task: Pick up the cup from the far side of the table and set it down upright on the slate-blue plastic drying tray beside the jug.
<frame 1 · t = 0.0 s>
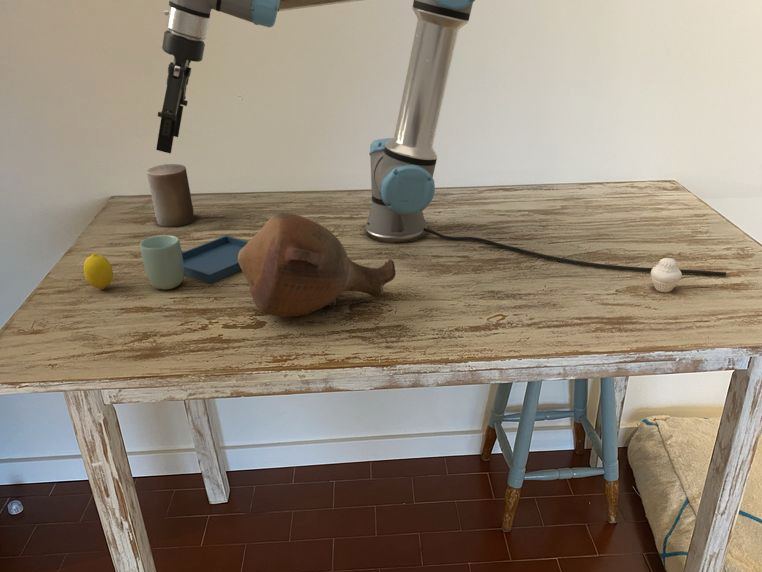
hand: (167, 143, 145), 28 cm above the table, tool tilted 20°, fingers open, 13 cm apart
pillar candle: (175, 221, 186), on the table
lemon: (103, 290, 150), on the table
drying tray: (219, 261, 162), on the table
muffin: (663, 290, 148), on the table
jug: (322, 308, 142), on the table
cup: (168, 286, 151), on the table
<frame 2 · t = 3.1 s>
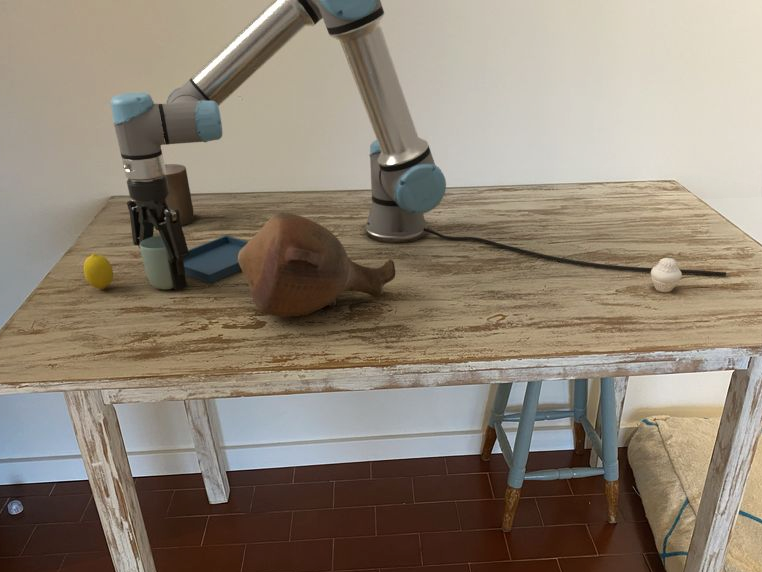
hand: (167, 282, 151), 1 cm above the table, tool pointing down, fingers closed on cup, 8 cm apart
cup: (168, 286, 151), on the table, touching gripper
everything else where it was.
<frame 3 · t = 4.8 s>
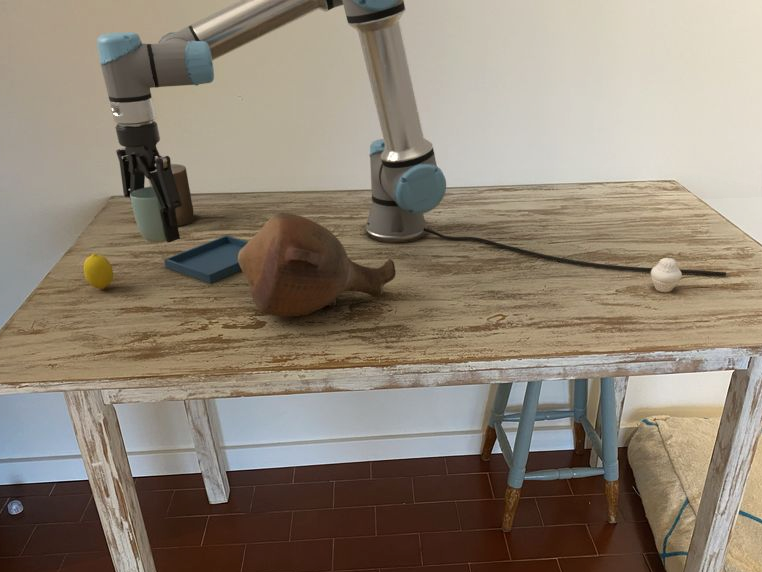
hand: (159, 235, 146), 11 cm above the table, tool pointing down, fingers closed on cup, 8 cm apart
cup: (160, 240, 146), point 10 cm above the table, touching gripper
everything else where it was.
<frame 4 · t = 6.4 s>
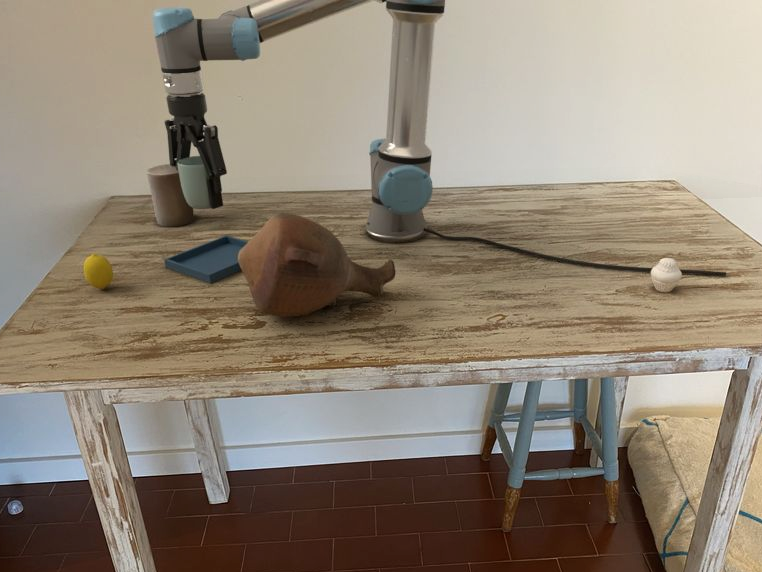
hand: (203, 203, 153), 14 cm above the table, tool pointing down, fingers closed on cup, 8 cm apart
cup: (204, 207, 154), point 14 cm above the table, touching gripper
everything else where it was.
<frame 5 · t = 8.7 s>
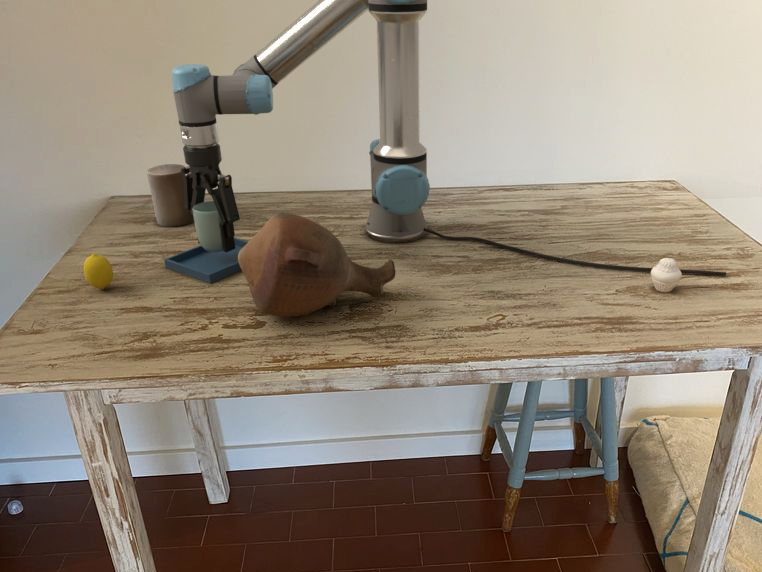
hand: (216, 245, 160), 4 cm above the table, tool pointing down, fingers closed on cup, 8 cm apart
cup: (217, 249, 161), point 3 cm above the table, touching gripper
everything else where it was.
when the fingers open (1 cm above the table, at t = 9.9 s): cup stays where it is, resting on drying tray.
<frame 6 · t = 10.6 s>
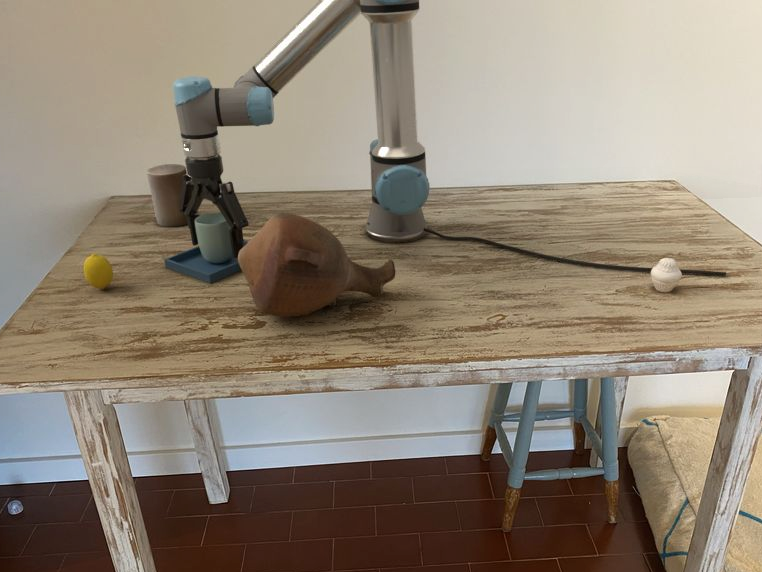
hand: (218, 249, 161), 3 cm above the table, tool pointing down, fingers open, 13 cm apart
cup: (219, 261, 162), resting on drying tray
everything else where it was.
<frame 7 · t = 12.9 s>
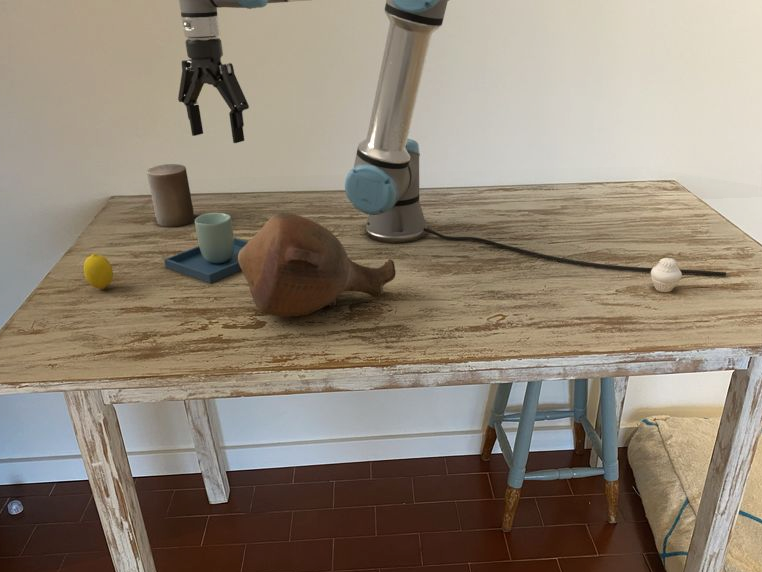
hand: (218, 138, 163), 24 cm above the table, tool pointing down, fingers open, 13 cm apart
nothing on the table moved.
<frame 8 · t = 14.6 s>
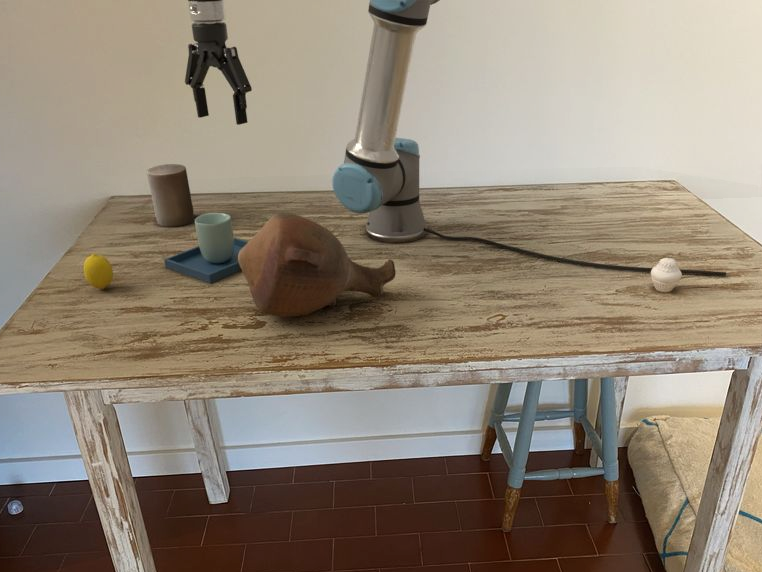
hand: (222, 120, 168), 27 cm above the table, tool pointing down, fingers open, 13 cm apart
nothing on the table moved.
at the end: cup inside the target area in the drying tray (0.0 cm from its centre), point 0.2 cm above the drying tray's base; cup tilted 0°; the gripper is holding nothing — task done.
